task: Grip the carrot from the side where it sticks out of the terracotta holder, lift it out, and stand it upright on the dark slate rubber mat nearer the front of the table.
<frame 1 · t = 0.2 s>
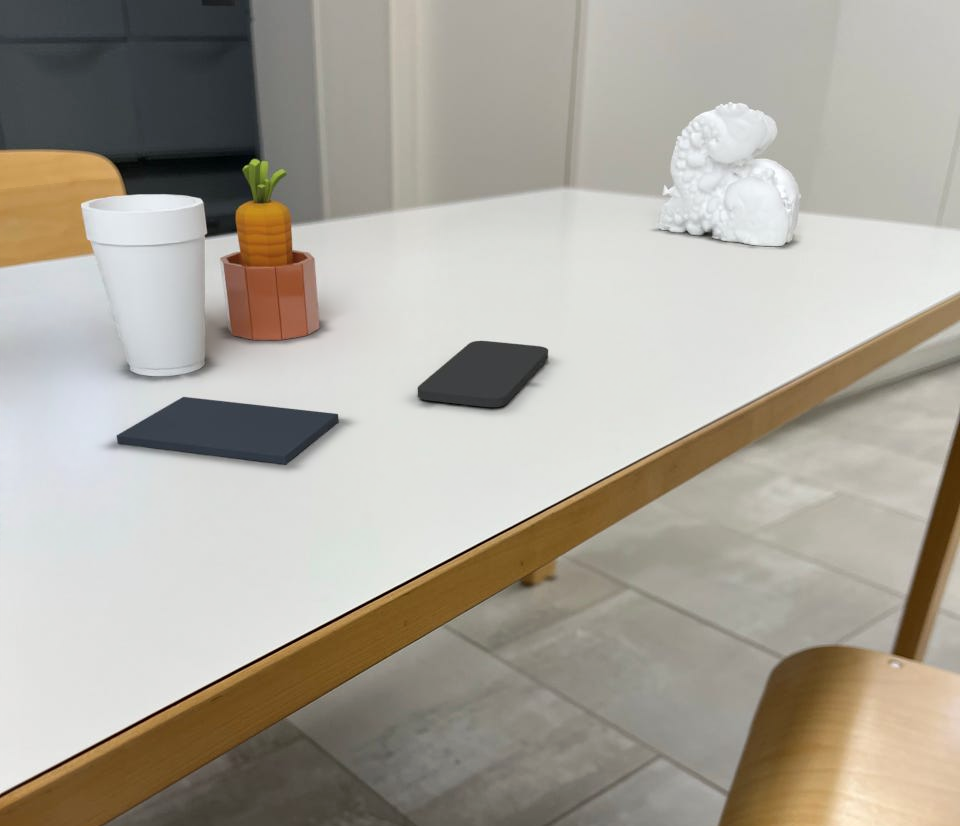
hand: (181, 3, 83), 27 cm above the table, tool pointing down, fingers open, 13 cm apart
foam cup: (167, 367, 88), on the table
holder: (274, 328, 99), on the table
phone: (486, 379, 86), on the table
carrot: (274, 330, 99), resting in holder
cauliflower: (723, 236, 143), on the table
mat: (231, 432, 74), on the table
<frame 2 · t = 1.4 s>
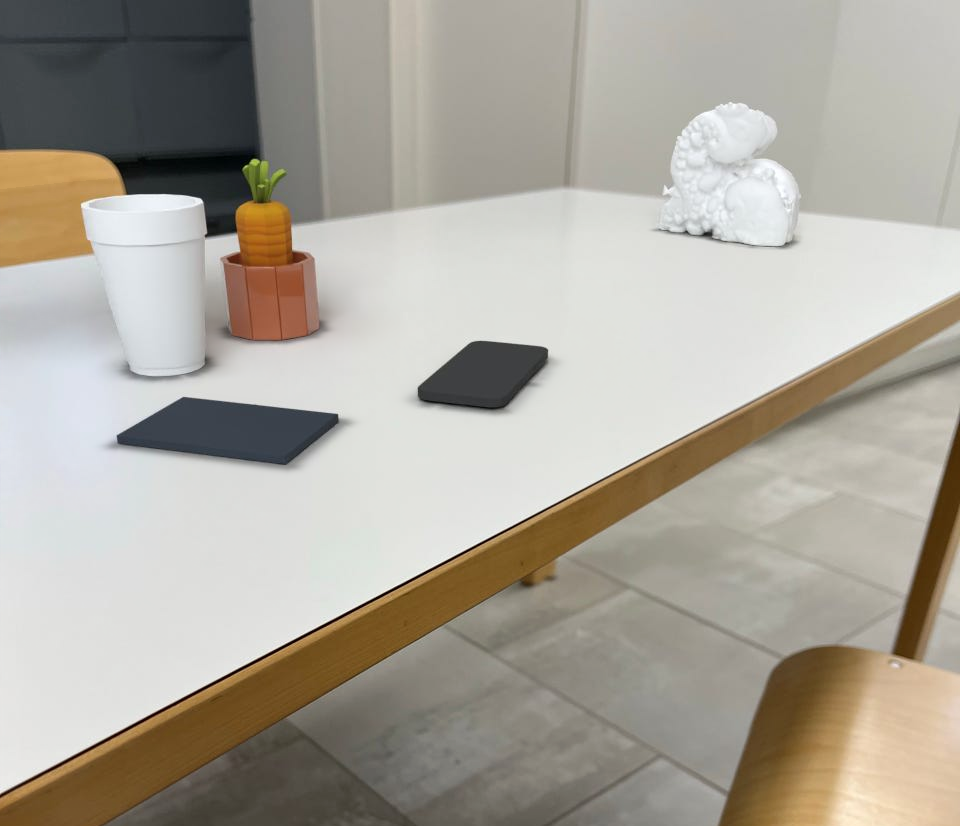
nothing on the table moved.
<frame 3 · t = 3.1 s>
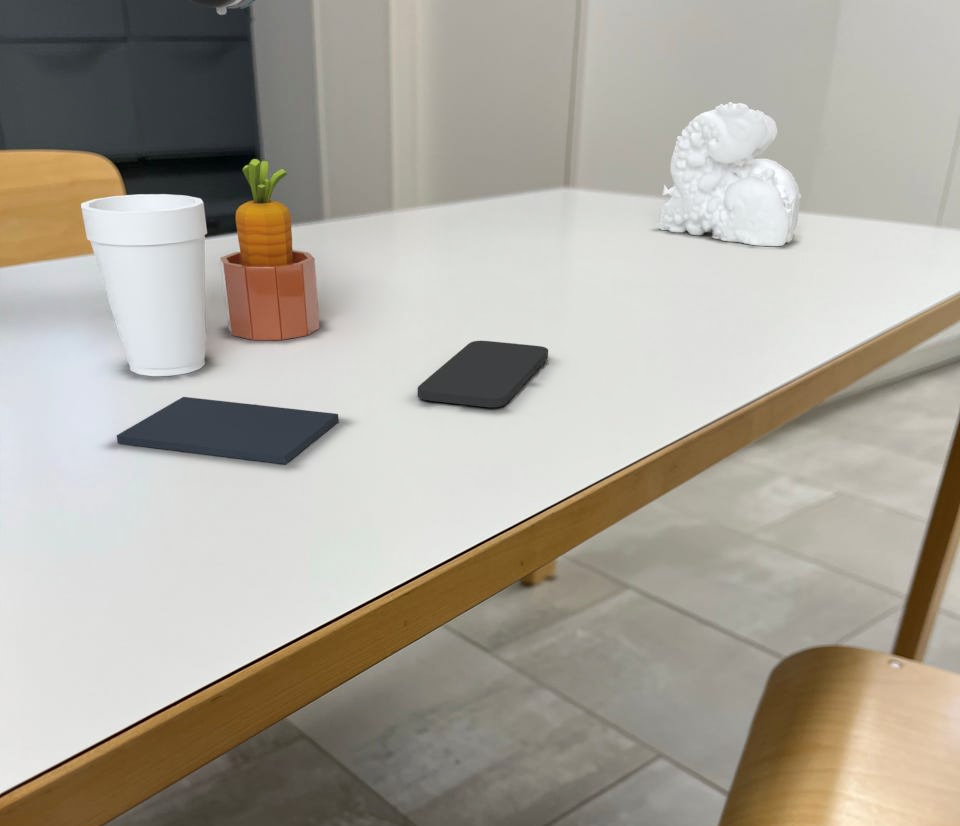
nothing on the table moved.
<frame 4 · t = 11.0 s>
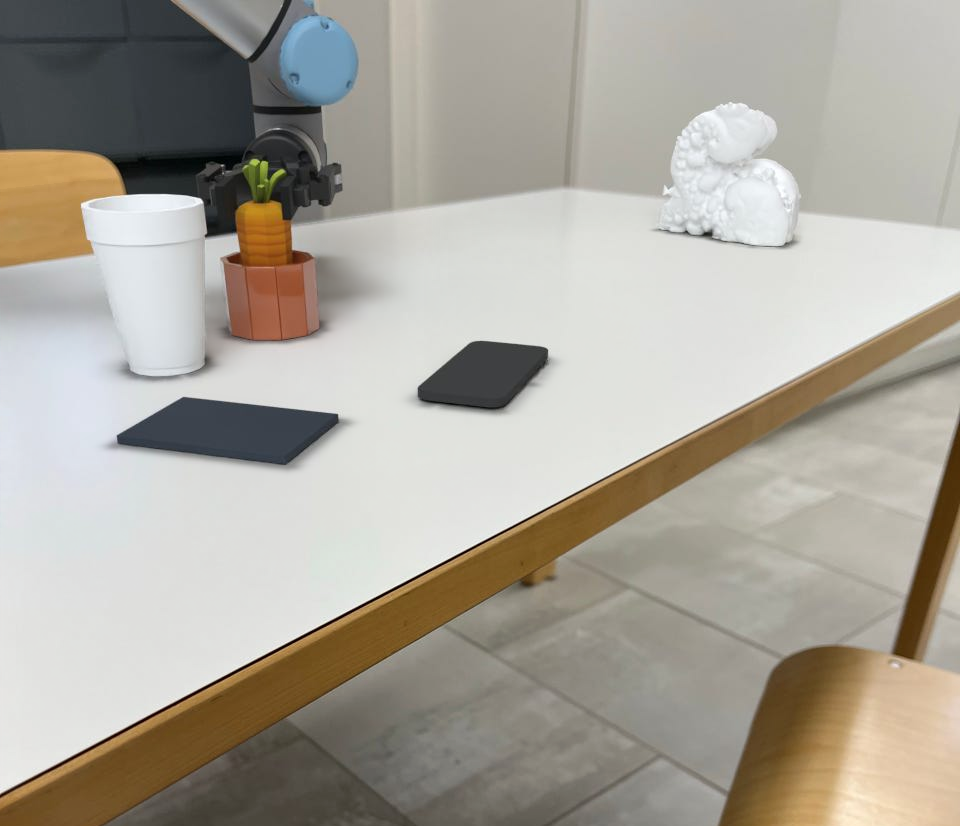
hand: (253, 203, 88), 12 cm above the table, tool horizontal, fingers closed on carrot, 5 cm apart
carrot: (274, 330, 99), resting in holder, touching gripper
everything else where it was.
when the fingers open (13 cm above the table, at t = 23.7 s): carrot stays where it is, resting on mat.
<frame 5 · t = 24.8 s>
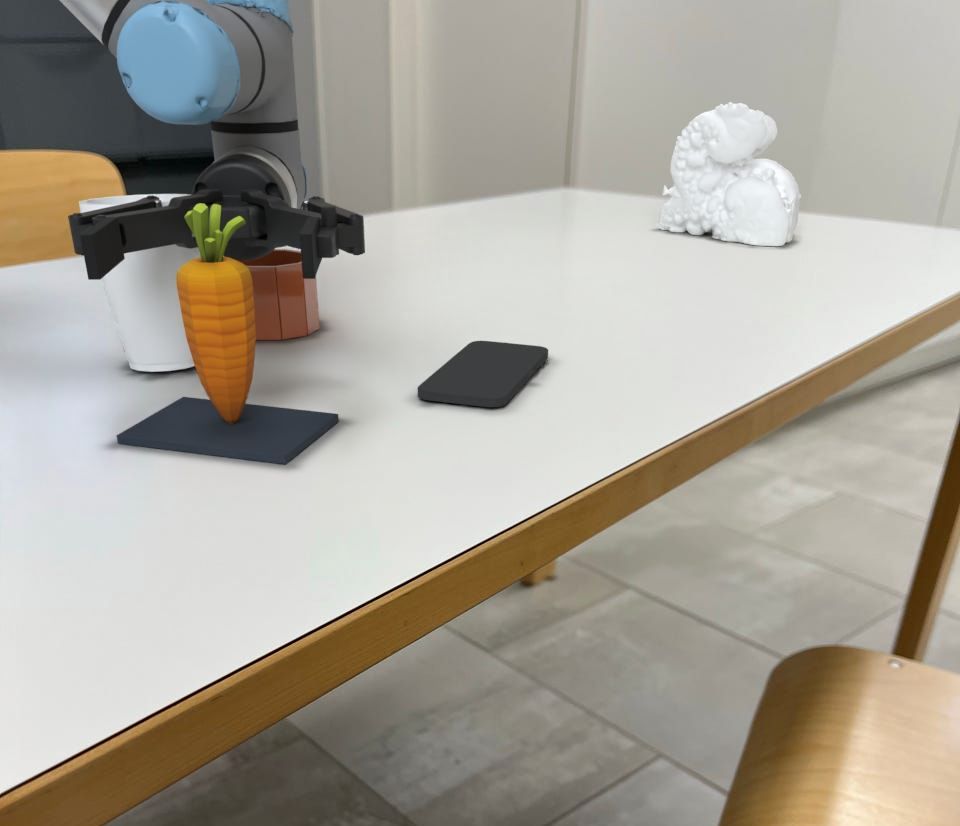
hand: (199, 257, 65), 13 cm above the table, tool horizontal, fingers open, 13 cm apart
foam cup: (167, 365, 88), on the table, touching hand
carrot: (232, 426, 74), resting on mat
everything else where it was.
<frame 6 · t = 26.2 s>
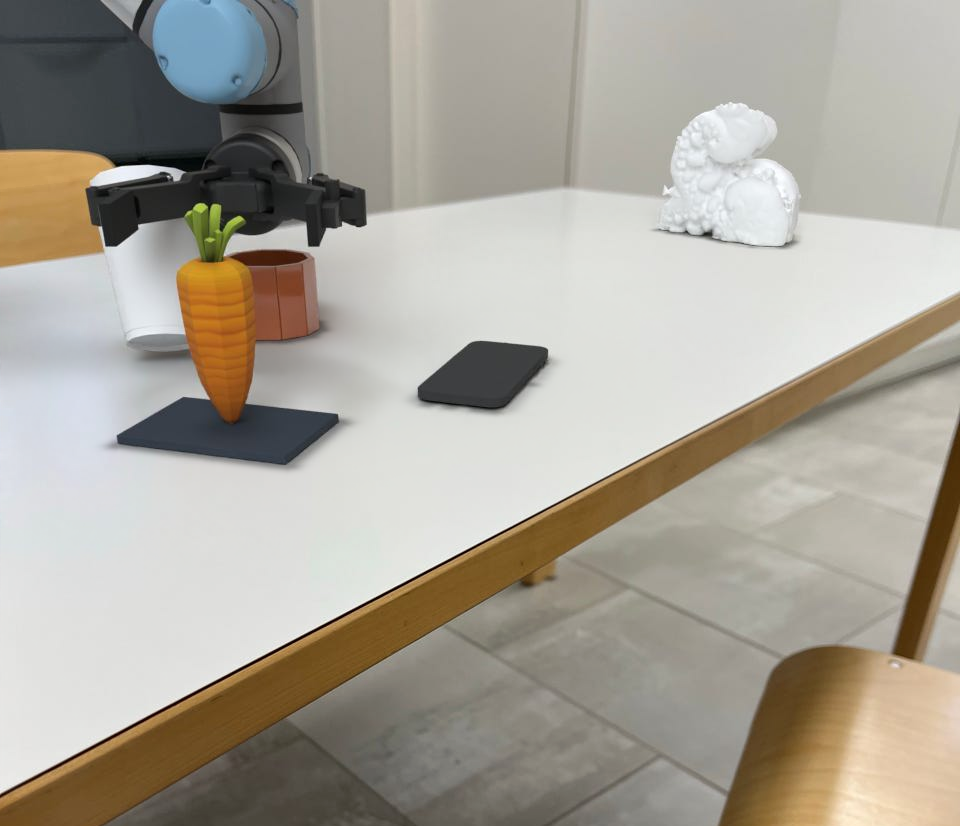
hand: (210, 225, 69), 14 cm above the table, tool horizontal, fingers open, 13 cm apart
foam cup: (165, 345, 87), point 2 cm above the table
everything else where it was.
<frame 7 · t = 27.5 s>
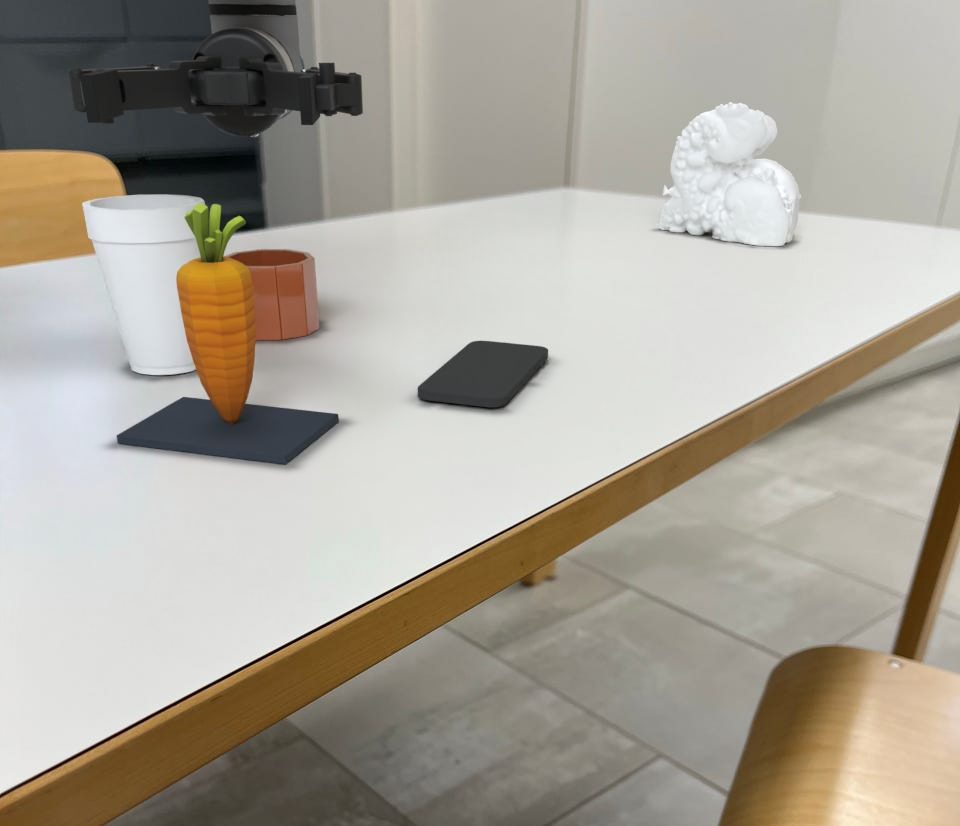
hand: (198, 100, 65), 21 cm above the table, tool horizontal, fingers open, 13 cm apart
foam cup: (168, 367, 88), on the table
everything else where it was.
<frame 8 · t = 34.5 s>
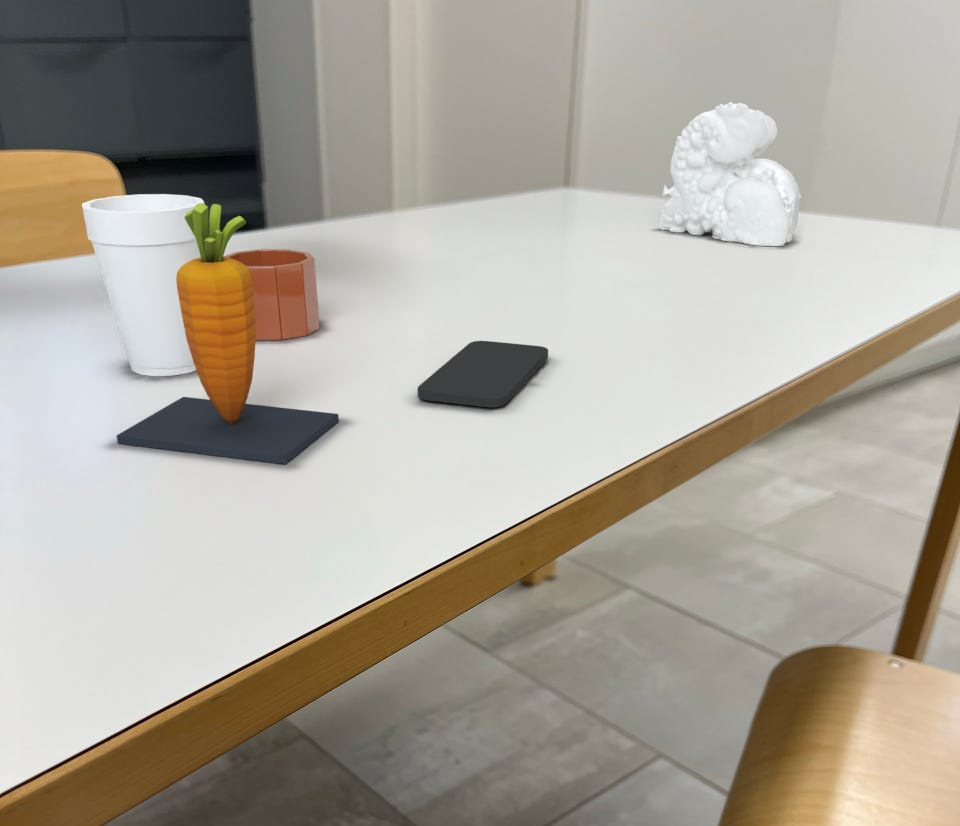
nothing on the table moved.
at the end: carrot inside the target area on the mat (0.1 cm from its centre), point 0.4 cm above the mat's base; carrot tilted 0°; carrot touching mat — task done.
